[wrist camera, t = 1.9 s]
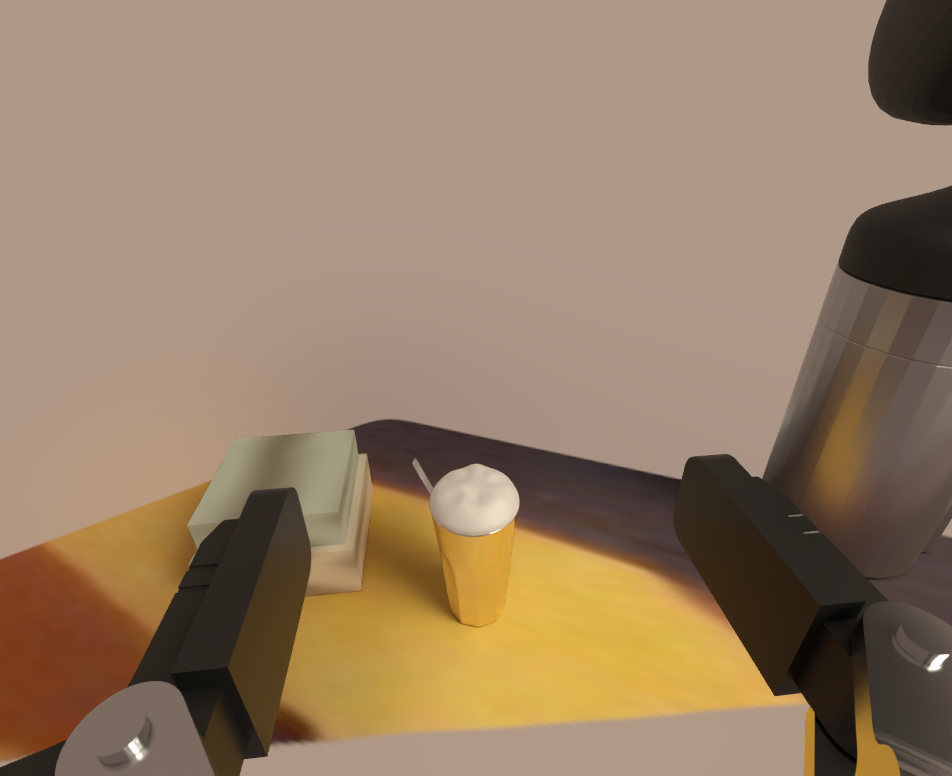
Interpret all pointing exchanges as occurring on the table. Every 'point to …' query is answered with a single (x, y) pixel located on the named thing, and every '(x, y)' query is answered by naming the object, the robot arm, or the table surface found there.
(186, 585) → the robot arm
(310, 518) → the tower base
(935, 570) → the table surface
